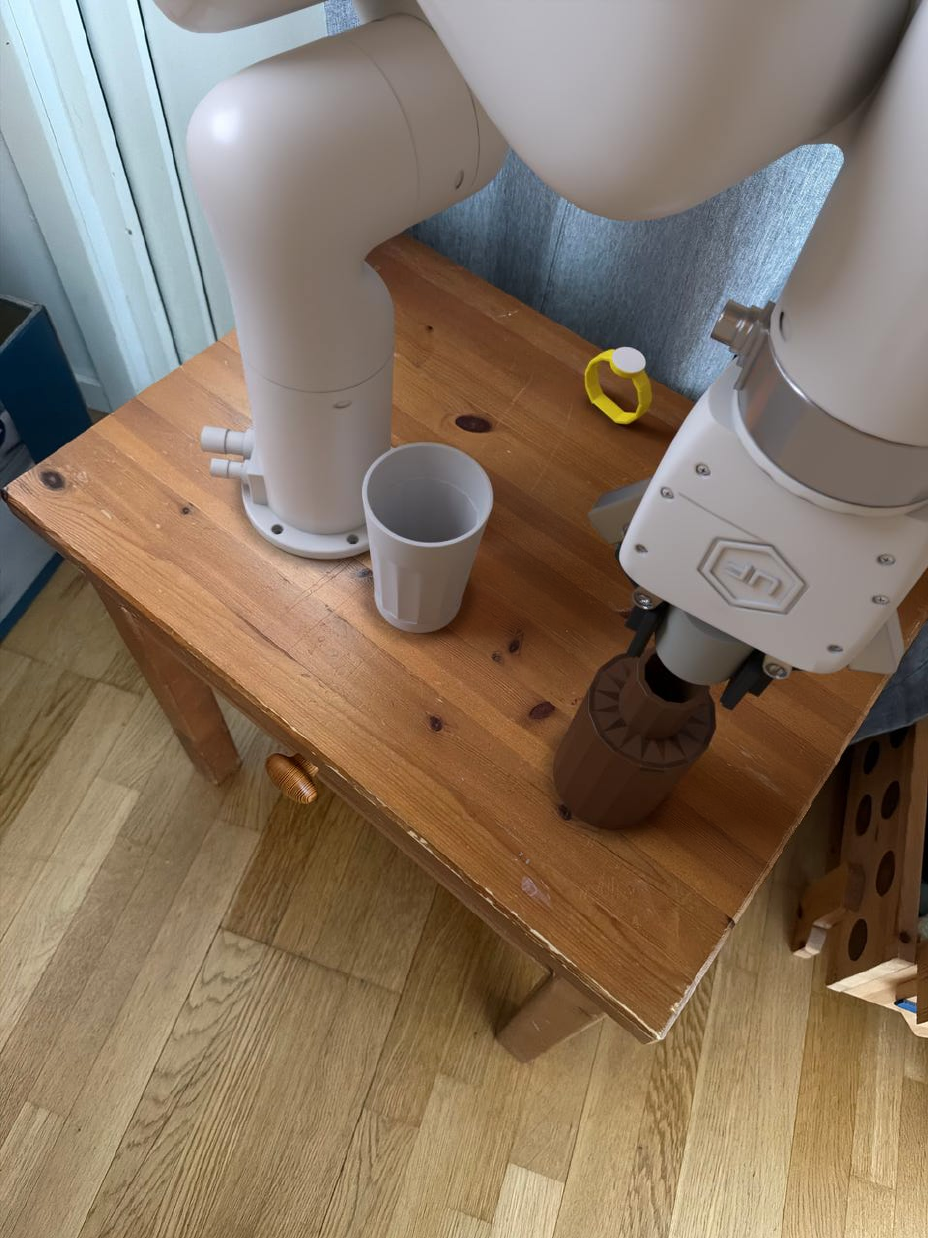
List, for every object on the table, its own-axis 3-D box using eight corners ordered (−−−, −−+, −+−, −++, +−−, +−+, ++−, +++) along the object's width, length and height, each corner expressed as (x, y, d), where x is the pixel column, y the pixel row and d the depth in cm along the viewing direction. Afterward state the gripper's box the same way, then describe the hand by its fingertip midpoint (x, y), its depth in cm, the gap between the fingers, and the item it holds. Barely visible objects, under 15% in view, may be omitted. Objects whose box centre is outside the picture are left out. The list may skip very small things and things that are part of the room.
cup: (372, 542, 67) (373, 433, 56) (478, 556, 67) (498, 451, 57) (354, 635, 63) (352, 536, 52) (467, 650, 63) (487, 555, 53)
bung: (646, 693, 43) (680, 637, 39) (645, 615, 46) (677, 553, 41) (735, 704, 44) (780, 650, 39) (730, 626, 46) (772, 566, 41)
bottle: (550, 822, 57) (603, 731, 44) (555, 719, 61) (605, 607, 48) (661, 835, 58) (746, 749, 45) (659, 732, 61) (737, 624, 48)
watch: (572, 397, 76) (587, 344, 71) (593, 382, 77) (610, 328, 72) (625, 439, 74) (644, 388, 69) (646, 423, 75) (667, 371, 70)
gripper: (577, 355, 29) (504, 634, 44) (1103, 605, 25) (823, 810, 41) (670, 232, 32) (572, 531, 48) (1142, 439, 29) (871, 686, 45)
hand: (690, 658), depth 44 cm, fingers closed on bung, 4 cm apart
